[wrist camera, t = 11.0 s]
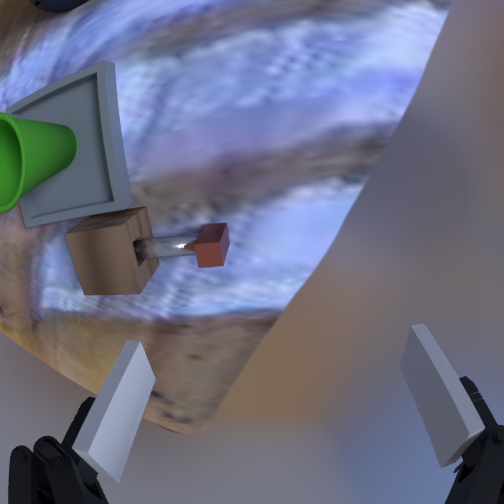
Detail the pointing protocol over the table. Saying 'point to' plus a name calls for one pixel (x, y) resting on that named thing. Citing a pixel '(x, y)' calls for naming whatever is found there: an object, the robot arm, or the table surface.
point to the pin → (189, 246)
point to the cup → (31, 155)
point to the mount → (111, 252)
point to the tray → (79, 147)
